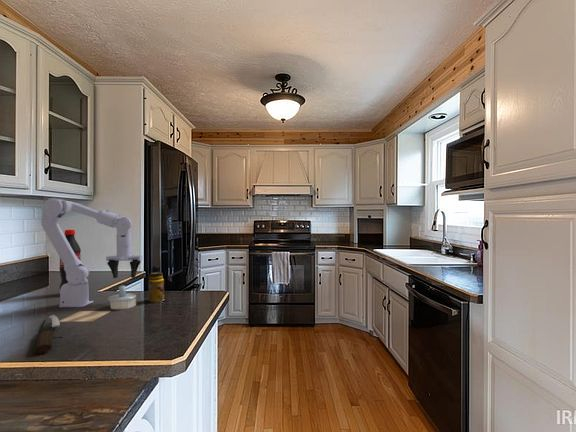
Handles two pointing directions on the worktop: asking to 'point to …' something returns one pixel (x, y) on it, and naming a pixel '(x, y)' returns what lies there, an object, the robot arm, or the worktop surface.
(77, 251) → the cola bottle
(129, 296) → the lid
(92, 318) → the mat
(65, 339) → the worktop surface
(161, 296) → the condiment
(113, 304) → the bowl
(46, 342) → the kitchen knife
